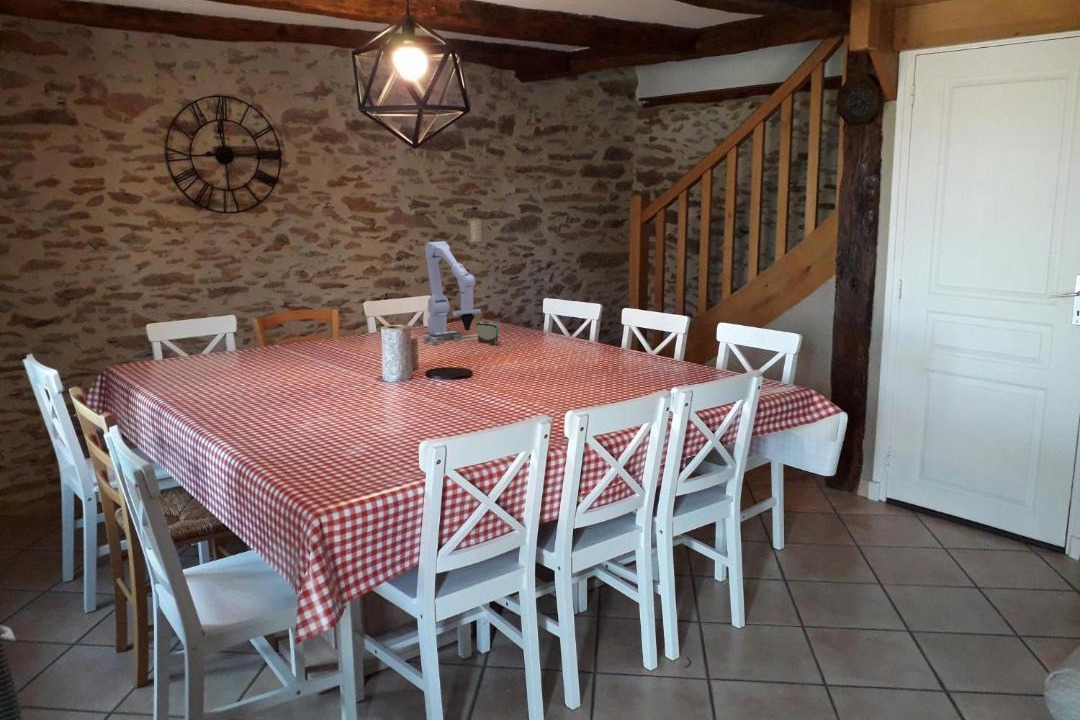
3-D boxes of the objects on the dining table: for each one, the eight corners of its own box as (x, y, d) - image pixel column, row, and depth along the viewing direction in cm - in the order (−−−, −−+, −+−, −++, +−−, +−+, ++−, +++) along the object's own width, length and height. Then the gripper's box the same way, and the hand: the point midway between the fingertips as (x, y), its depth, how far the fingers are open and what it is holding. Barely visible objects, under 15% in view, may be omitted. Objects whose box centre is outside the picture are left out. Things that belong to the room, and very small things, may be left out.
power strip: (430, 341, 382) (429, 333, 381) (455, 337, 390) (455, 330, 390) (435, 342, 378) (435, 334, 378) (461, 339, 387) (461, 331, 386)
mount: (421, 342, 382) (420, 335, 381) (480, 334, 402) (480, 328, 402) (432, 345, 374) (432, 338, 374) (492, 337, 395) (492, 331, 394)
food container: (505, 343, 380) (505, 322, 378) (497, 346, 375) (497, 324, 373) (483, 341, 386) (483, 319, 384) (475, 343, 381) (475, 321, 379)
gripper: (458, 303, 381) (458, 332, 383) (484, 301, 389) (484, 329, 392) (450, 301, 386) (450, 330, 389) (476, 299, 395) (476, 327, 398)
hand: (467, 330), depth 391 cm, fingers closed
